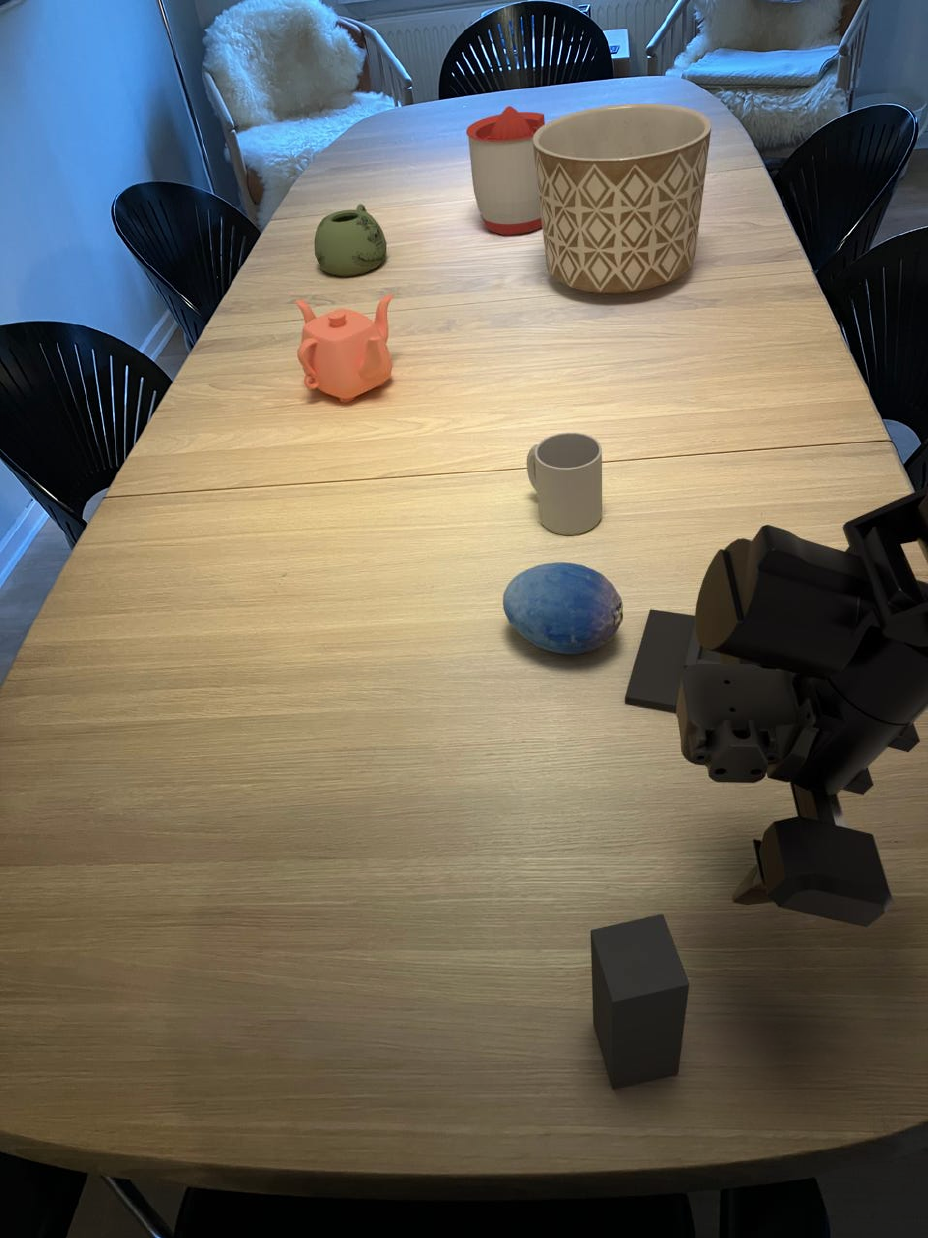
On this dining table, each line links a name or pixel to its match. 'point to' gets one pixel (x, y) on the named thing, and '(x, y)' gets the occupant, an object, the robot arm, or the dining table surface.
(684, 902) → the dining table surface
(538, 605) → the blue oval fruit
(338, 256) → the green round vase
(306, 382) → the teapot
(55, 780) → the dining table surface
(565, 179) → the planter
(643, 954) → the pad block
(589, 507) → the cup
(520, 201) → the citrus juicer
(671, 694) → the base pad
